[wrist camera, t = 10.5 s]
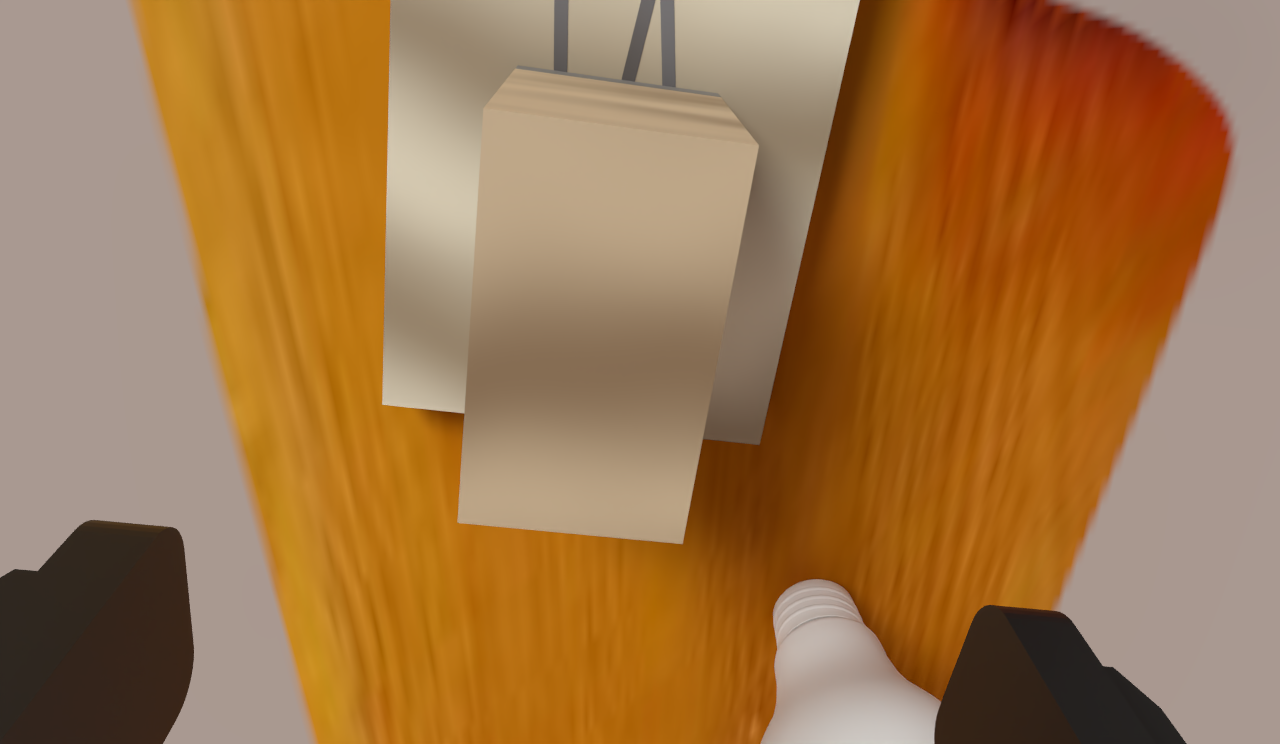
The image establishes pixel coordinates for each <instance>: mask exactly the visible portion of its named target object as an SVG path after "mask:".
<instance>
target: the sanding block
mask: <svg viewBox="0 0 1280 744" xmlns="http://www.w3.org/2000/svg"><path fill="white" fill-rule="evenodd" d="M758 149H759V145H758V143H757V142H756V141H755V140H754V138H753V137H752V136H751V135H750V133H749V132H748V131H747V129H746V128H745V127H744V126H743V124H742V123H741V122H740V121H739V119H738V118H737V117H736V116H735V114H734V113H733V112H732V110H731V109H730V108H729V107H728V105H727V104H726V103H725V102H724V100H723V99H722V98H721V96H720V95H719V94H718V93H712V92H705V91H698V90H690V89H683V88H676V87H669V86H662V85H655V84H648V83H640V82H633V81H626V80H619V79H612V78H605V77H598V76H591V75H583V74H576V73H569V72H562V71H555V70H548V69H541V68H534V67H526V66H519V65H518V66H517V67H516V68H515V69H514V71H513V72H512V73H511V74H510V76H509V77H508V78H507V79H506V81H505V82H504V83H503V84H502V86H501V87H500V88H499V89H498V91H497V92H496V93H495V94H494V96H493V97H492V98H491V99H490V101H489V102H488V103H487V104H486V106H485V107H484V108H483V122H482V138H481V154H480V171H479V187H478V203H477V219H476V235H475V251H474V267H473V283H472V299H471V315H470V331H469V347H468V363H467V380H466V396H465V412H464V428H463V444H462V460H461V476H460V492H459V508H458V523H465V524H476V525H487V526H497V527H508V528H518V529H529V530H539V531H550V532H561V533H571V534H582V535H592V536H603V537H613V538H624V539H635V540H645V541H656V542H666V543H677V544H683V539H684V534H685V529H686V523H687V518H688V513H689V508H690V503H691V497H692V492H693V487H694V482H695V477H696V471H697V466H698V461H699V456H700V451H701V445H702V440H703V435H704V430H705V425H706V419H707V414H708V409H709V404H710V399H711V393H712V388H713V383H714V378H715V373H716V367H717V362H718V357H719V352H720V347H721V341H722V336H723V331H724V326H725V320H726V315H727V310H728V305H729V300H730V294H731V289H732V284H733V279H734V274H735V268H736V263H737V258H738V253H739V248H740V242H741V237H742V232H743V227H744V222H745V216H746V211H747V206H748V201H749V196H750V190H751V185H752V180H753V175H754V170H755V164H756V159H757V154H758Z"/></svg>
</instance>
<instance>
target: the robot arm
mask: <svg viewBox="0 0 1280 744" xmlns="http://www.w3.org/2000/svg"><path fill="white" fill-rule="evenodd" d="M193 660H194V645H193V634H192V624H191V615H190V604H189V593H188V583H187V574H186V562H185V552H184V545H183V540H182V537H181V535H180V533H179V531H178V530H177V529H175V528H173V527H164V526H153V525H142V524H131V523H120V522H110V521H99V520H90V521H87V522H85V523H83V524H82V525H80V526H79V527H78V528H77V529H76V530H75V531H74V532H73V533H72V534H71V535H70V536H69V537H68V538H67V539H66V541H65V542H64V543H63V544H62V545H61V546H60V547H59V548H58V549H57V550H56V552H55V553H54V554H53V555H52V556H51V557H50V558H49V559H48V560H47V561H46V563H45V564H44V565H43V566H42V567H41V568H40V569H39V571H30V570H29V571H28V570H18V569H15V570H13V571H11V572H9V573H7V574H6V575H4V576H2V577H1V578H0V744H163V742H164V741H165V739H166V737H167V735H168V733H169V732H170V730H171V728H172V726H173V725H174V723H175V721H176V719H177V717H178V715H179V713H180V711H181V708H182V706H183V704H184V701H185V698H186V695H187V692H188V688H189V684H190V680H191V675H192V669H193ZM934 744H1186V743H1185V741H1184V740H1183V738H1182V737H1181V736H1180V734H1179V733H1178V731H1177V730H1176V729H1175V727H1174V726H1173V725H1172V724H1171V722H1170V720H1169V719H1168V718H1167V716H1166V715H1165V714H1164V712H1163V711H1162V709H1161V708H1159V706H1157V705H1156V704H1155V703H1154V702H1153V701H1151V700H1150V699H1149V698H1148V697H1147V696H1146V695H1145V694H1144V693H1142V692H1141V691H1140V690H1139V689H1138V688H1137V687H1135V686H1134V685H1133V684H1132V683H1131V682H1130V681H1128V680H1127V679H1126V678H1125V677H1124V676H1122V675H1121V674H1120V673H1119V672H1118V671H1116V669H1114V668H1113V667H1104V666H1102V664H1101V663H1100V662H1099V660H1098V658H1097V657H1096V656H1095V654H1094V653H1093V652H1092V650H1091V648H1090V647H1089V645H1088V644H1087V642H1086V641H1085V640H1084V638H1083V637H1082V635H1081V634H1080V632H1079V631H1078V629H1077V628H1076V626H1075V625H1074V624H1073V623H1072V621H1071V620H1070V619H1069V618H1068V617H1067V616H1066V615H1064V614H1063V613H1061V612H1057V611H1049V610H1038V609H1027V608H1016V607H1005V606H994V605H987V606H984V607H983V608H981V609H980V610H979V611H978V612H977V614H976V615H975V617H974V619H973V621H972V623H971V626H970V629H969V631H968V634H967V636H966V639H965V642H964V644H963V647H962V649H961V652H960V655H959V657H958V660H957V662H956V665H955V668H954V670H953V673H952V675H951V678H950V681H949V683H948V686H947V689H946V691H945V694H944V696H943V699H942V702H941V704H940V707H939V710H938V713H937V717H936V722H935V732H934Z"/></svg>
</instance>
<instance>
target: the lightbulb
mask: <svg viewBox="0 0 1280 744" xmlns="http://www.w3.org/2000/svg"><path fill="white" fill-rule="evenodd" d="M773 624H774V629H775V638H776V641H777V649H778V650H777V652H776V657H775V663H774V668H775V676H776V683H777V703H776V707H775V711H774V716H773V718H772V720H771V722H770V724H769V725H768V727H767V729H766V732H765V734H764V736H763V739H762V741H761V744H934V732H935V722H936V717H937V713H938V710H939V707H940V704H941V701H939V700H938V699H937V698H935V697H934V696H933V695H931V694H929V693H928V692H926V691H924V690H923V689H921V688H919V687H918V686H916V685H914V684H913V683H911V682H909V681H908V680H906V679H905V678H904V677H903V676H902V675H901V674H900V673H899V672H898V671H897V670H896V668H895V667H894V665H893V664H892V663H891V661H890V660H889V658H888V657H887V655H886V653H885V651H884V649H883V647H882V645H881V643H880V641H879V639H878V638H877V636H876V635H875V634H874V633H873V632H872V631H871V630H870V629H869V628H868V627H867V626H865V624H864V623H863V620H862V617H861V616H860V614H859V612H858V609H857V607H856V605H855V604H854V602H853V600H852V598H851V596H850V595H849V593H848V592H847V591H846V590H845V589H844V588H843V587H842V586H840V585H838V584H837V583H834V582H831V581H827V580H822V579H811V580H805V581H802V582H799V583H797V584H794V585H793V586H791V587H790V588H788V589H787V590H786V591H785V592H784V593H783V594H782V595H781V596H780V597H779V599H778V600H777V602H776V604H775V606H774V610H773Z"/></svg>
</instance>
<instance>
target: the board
mask: <svg viewBox="0 0 1280 744" xmlns="http://www.w3.org/2000/svg"><path fill="white" fill-rule="evenodd" d="M859 2H860V0H391V12H390V61H389V110H388V159H387V208H386V256H385V305H384V354H383V403H382V405H391V406H400V407H409V408H419V409H428V410H437V411H447V412H456V413H464V412H465V396H466V380H467V363H468V347H469V331H470V315H471V299H472V283H473V267H474V251H475V235H476V219H477V203H478V187H479V171H480V154H481V138H482V122H483V108H484V107H485V106H486V104H487V103H488V102H489V101H490V99H491V98H492V97H493V96H494V94H495V93H496V92H497V91H498V89H499V88H500V87H501V86H502V84H503V83H504V82H505V81H506V79H507V78H508V77H509V76H510V74H511V73H512V72H513V71H514V69H515V68H516V67H517V66H518V65H519V66H526V67H534V68H541V69H548V70H555V71H562V72H569V73H576V74H583V75H591V76H598V77H605V78H612V79H619V80H626V81H633V82H640V83H648V84H655V85H662V86H669V87H676V88H683V89H690V90H698V91H705V92H712V93H718V94H719V95H720V96H721V98H722V99H723V100H724V102H725V103H726V104H727V105H728V107H729V108H730V109H731V110H732V112H733V113H734V114H735V116H736V117H737V118H738V119H739V121H740V122H741V123H742V124H743V126H744V127H745V128H746V129H747V131H748V132H749V133H750V135H751V136H752V137H753V138H754V140H755V141H756V142H757V143H758V145H759V149H758V154H757V159H756V164H755V170H754V175H753V180H752V185H751V190H750V196H749V201H748V206H747V211H746V216H745V222H744V227H743V232H742V237H741V242H740V248H739V253H738V258H737V263H736V268H735V274H734V279H733V284H732V289H731V294H730V300H729V305H728V310H727V315H726V320H725V326H724V331H723V336H722V341H721V347H720V352H719V357H718V362H717V367H716V373H715V378H714V383H713V388H712V393H711V399H710V404H709V409H708V414H707V419H706V425H705V430H704V435H703V439H709V440H718V441H727V442H737V443H746V444H755V445H760V441H761V436H762V432H763V427H764V423H765V418H766V414H767V410H768V405H769V401H770V396H771V392H772V387H773V383H774V379H775V374H776V370H777V365H778V361H779V356H780V352H781V348H782V343H783V339H784V334H785V330H786V325H787V321H788V317H789V312H790V308H791V303H792V299H793V294H794V290H795V285H796V281H797V277H798V272H799V268H800V263H801V259H802V254H803V250H804V246H805V241H806V237H807V232H808V228H809V223H810V219H811V215H812V210H813V206H814V201H815V197H816V192H817V188H818V184H819V179H820V175H821V170H822V166H823V161H824V157H825V153H826V148H827V144H828V139H829V135H830V130H831V126H832V122H833V117H834V113H835V108H836V104H837V99H838V95H839V91H840V86H841V82H842V77H843V73H844V68H845V64H846V60H847V55H848V51H849V46H850V42H851V37H852V33H853V29H854V24H855V20H856V15H857V11H858V6H859Z"/></svg>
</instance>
